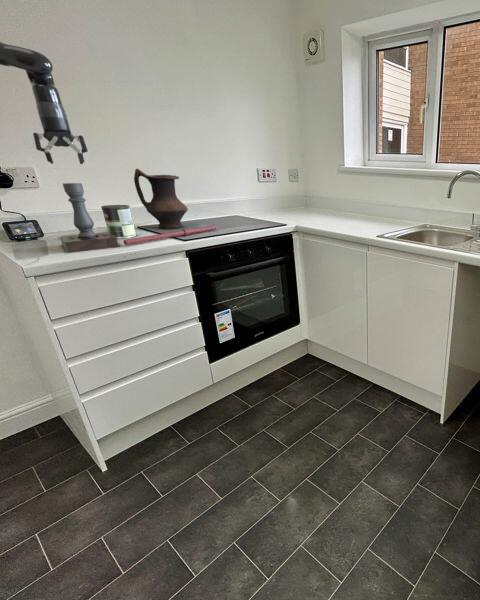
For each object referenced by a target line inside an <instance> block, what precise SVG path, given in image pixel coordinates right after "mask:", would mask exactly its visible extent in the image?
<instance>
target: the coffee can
mask: <svg viewBox="0 0 480 600" xmlns="http://www.w3.org/2000/svg"><path fill="white" fill-rule="evenodd" d="M100 208H101V210H102V214H103V217H104V221H105V222H104V223H105V225H106V229H107V232H109V233H111V234H112V235H114V236H115V237H116V238H117V240H119V239H132V238H136V236H137V233H136V229H135V226H134V221H133V217H132V212H131V209H130V205H128V204H107V205H101V206H100Z"/></svg>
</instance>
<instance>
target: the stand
mask: <svg viewBox="0 0 480 600" xmlns="http://www.w3.org/2000/svg"><path fill="white" fill-rule="evenodd" d="M94 233H95V234H96V237H94V238H80V237H79V236H78V235H79V233H77V234H67V235H60V236H59V239H60V240H61V244H62V247H64V249H65V250H66V252H67V253H76V252H84V251H94V250H102V249H111V248H119V247H120V245H119V241H118V239H117V238H116V237H115V236H114V235H112V234H111V233H109V232H108V231H102V232H94Z"/></svg>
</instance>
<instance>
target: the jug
mask: <svg viewBox="0 0 480 600" xmlns="http://www.w3.org/2000/svg"><path fill="white" fill-rule="evenodd" d="M140 177H142V178H145V179H146V180H147V181H148V182H149V184H150V186H151V192H152V198H151V200H150V201H149V202H148V201H146V200H145V196H144V193H143V190H142V188H141V185H140ZM179 179H180V177H179V176H177V175H172V174H146V173H145V172H144V171H142V170H141V169H140V168H135V169H134V176H133V182H134V187H135V189H136V193H137V195H138V197H139V200H140V202H141V204H142V205H143V207H144V208H145V209H146V211H147V213H149V214H150V215H151V216H152V217H153V218H154V219H156V220H157V222H158V223H159V224H158V228H159V229H163V230H176V229H180V228H183V223H182V222H181V221H182V219H183V217H184V216H185V214H186V213H187V212H188V207H187V205H185V204H184V203H183V201H181V200H180V199H179V198H178V197H177V193H176V183H175V182H176V181H175V180H179Z"/></svg>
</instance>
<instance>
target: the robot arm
mask: <svg viewBox="0 0 480 600" xmlns="http://www.w3.org/2000/svg"><path fill="white" fill-rule="evenodd" d="M0 66H4V67H13V68H18V69H20V70H24V71H25V73H26V75H27V78H28V81H29V83H30V85H31V92H32V94H33V97H34V101H35V104H36V110H37V114H38V116H39V120H40V124H41V126H42V127H41V128H42V130H43V133H37V132H33V133H32V137H33V141H34V145H35V148H36V150H37V151H40V152H43V153H44V155H45V159H46V161H47V162H48V163H50V164H52V165H53V164H54V161H53V157H52V153H51V152H50V151H51V150H52V148H53V147H63V148H68V147H70V148H71V149H72V150H74V151H75V152H76V155H77V158H78V162H79V165H83V163H85V158H84V154H85V153H88V151H89V150H88V147H87V145H86V142H85V139H84V136H83V135H81V134H80V135H74V134H73V133H72V130H71V127H70V123H69V120H68V116H67V113H66V110H65V108H64V105H63V103H62V99H61V95H60V92H59V90H58V88H57V87H56V85H55V80H54V77H53V69H54V67H53V63H52V62H51V60H50V59H49V58H48V57H47V56H46V55H45V54H43V53H41V52H40V51H39V52H38V51H36V50H33V49H29V48H26V47H21V46H17V45H13V44H8V43H5V42H2V41H0ZM43 138H44V139H45V140H47V141H48V143H47V144H46V146H45V147H42V144H41V140H42V139H43ZM74 140H76V141H77V142H79V145H80V147H81V149H80V148H79V147H78V146H76V145H75V144H74V143H73V142H74Z"/></svg>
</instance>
